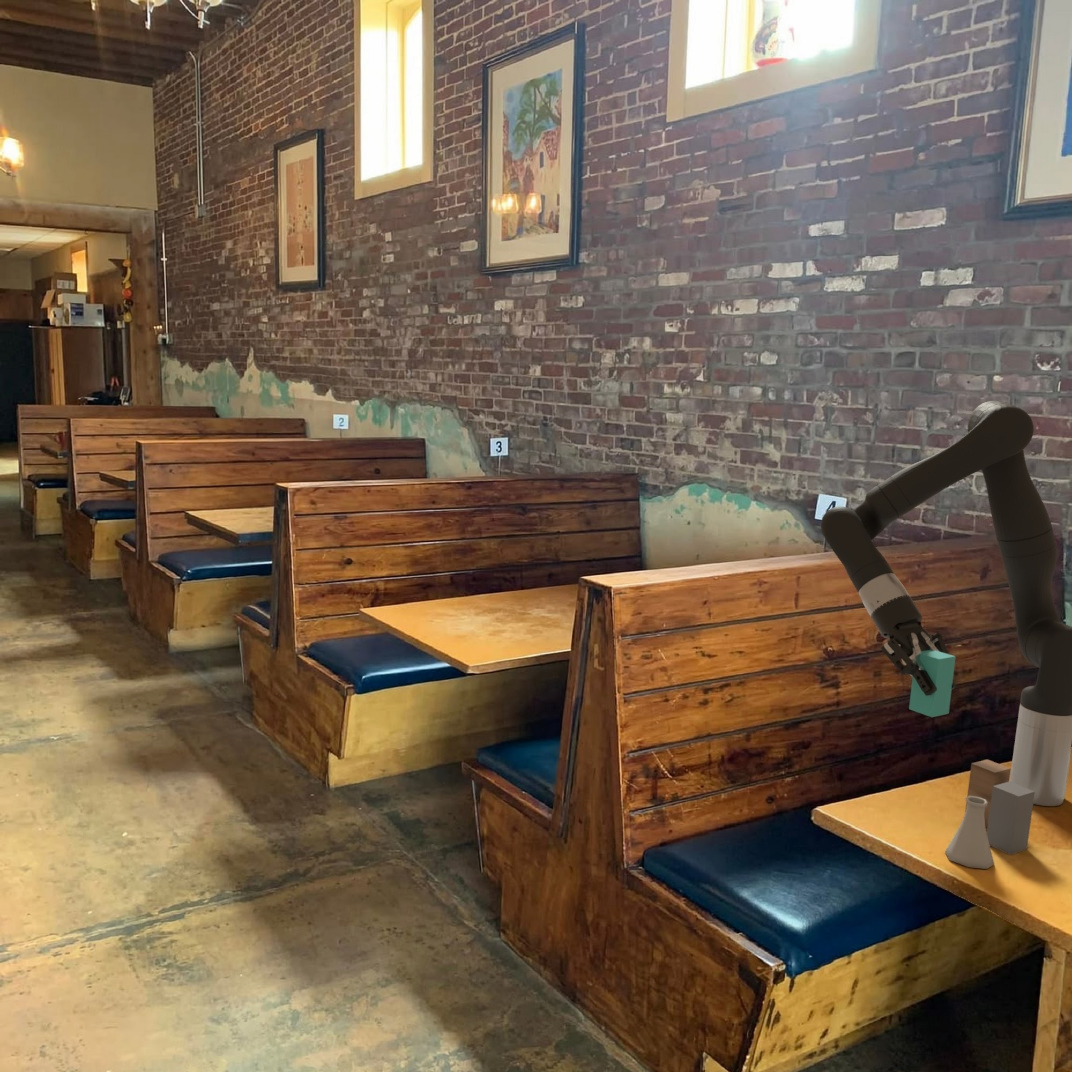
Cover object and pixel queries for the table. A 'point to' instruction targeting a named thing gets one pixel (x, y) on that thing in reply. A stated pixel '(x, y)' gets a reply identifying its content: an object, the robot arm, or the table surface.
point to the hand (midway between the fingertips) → (941, 691)
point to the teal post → (942, 677)
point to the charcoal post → (1010, 817)
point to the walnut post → (986, 781)
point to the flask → (972, 837)
